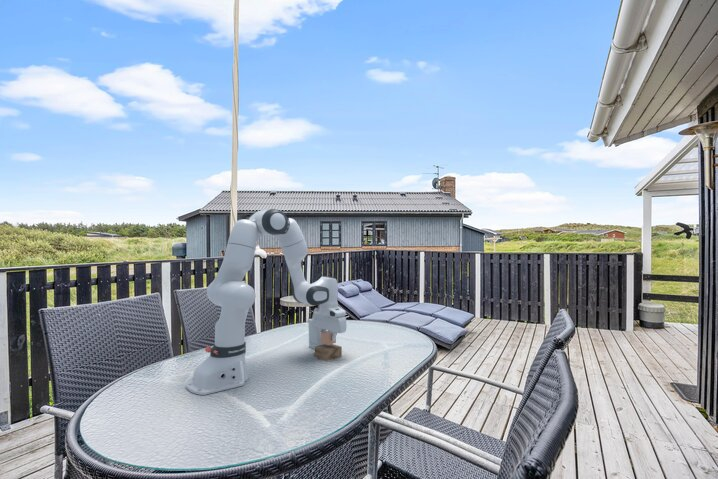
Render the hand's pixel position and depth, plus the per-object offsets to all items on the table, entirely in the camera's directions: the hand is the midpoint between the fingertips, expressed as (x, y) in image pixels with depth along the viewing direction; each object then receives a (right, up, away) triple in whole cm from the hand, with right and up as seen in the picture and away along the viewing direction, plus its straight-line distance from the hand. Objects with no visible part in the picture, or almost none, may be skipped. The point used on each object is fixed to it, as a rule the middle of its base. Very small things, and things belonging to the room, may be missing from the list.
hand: (328, 339), depth 171 cm
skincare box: (-7, -8, +14) cm, 17 cm away
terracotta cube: (0, -2, 0) cm, 2 cm away
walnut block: (0, -9, 0) cm, 9 cm away
